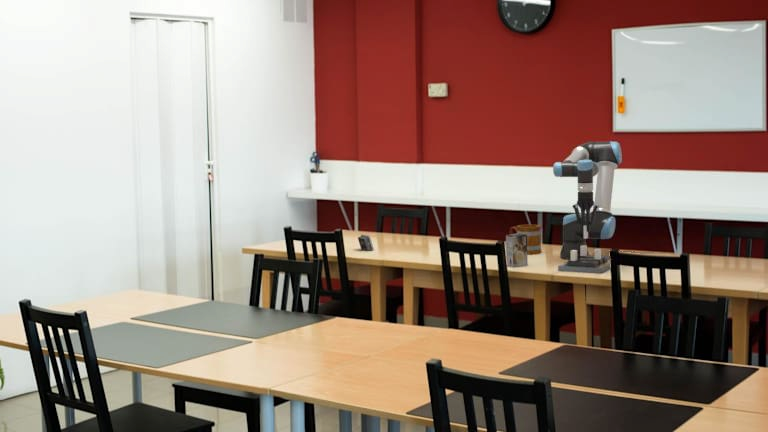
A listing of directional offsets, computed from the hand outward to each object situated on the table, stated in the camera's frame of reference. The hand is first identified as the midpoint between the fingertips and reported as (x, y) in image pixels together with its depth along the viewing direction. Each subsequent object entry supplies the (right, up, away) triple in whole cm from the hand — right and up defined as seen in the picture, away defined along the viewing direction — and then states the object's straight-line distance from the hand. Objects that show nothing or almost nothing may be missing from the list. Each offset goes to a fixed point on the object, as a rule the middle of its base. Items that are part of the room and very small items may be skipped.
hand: (585, 238), depth 510 cm
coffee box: (-33, -15, +14) cm, 38 cm away
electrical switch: (-111, -9, +80) cm, 137 cm away
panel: (+1, -15, +1) cm, 15 cm away
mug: (-23, -9, +55) cm, 61 cm away
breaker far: (+1, -9, +9) cm, 13 cm away
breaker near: (-7, -11, -5) cm, 14 cm away
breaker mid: (+5, -10, -2) cm, 12 cm away
